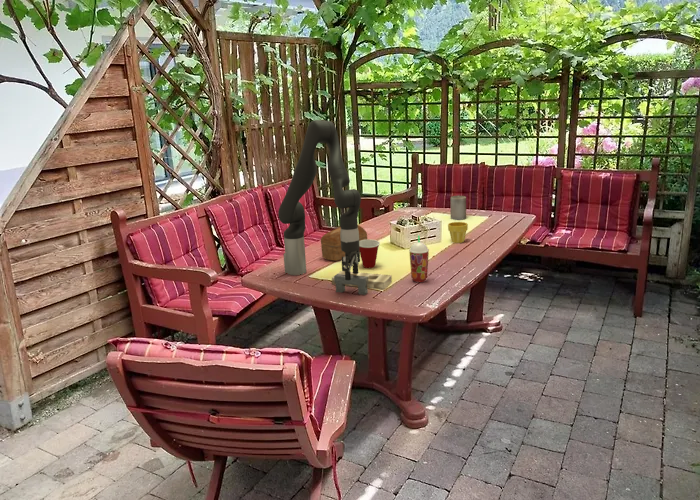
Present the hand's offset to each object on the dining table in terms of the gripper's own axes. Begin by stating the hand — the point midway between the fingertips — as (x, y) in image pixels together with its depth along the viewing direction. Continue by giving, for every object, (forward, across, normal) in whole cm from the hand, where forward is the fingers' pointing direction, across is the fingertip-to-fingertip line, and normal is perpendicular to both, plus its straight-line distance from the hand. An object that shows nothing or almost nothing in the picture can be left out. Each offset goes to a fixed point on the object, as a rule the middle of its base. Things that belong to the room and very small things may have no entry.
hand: (351, 276), depth 235 cm
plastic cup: (+7, -35, -5) cm, 36 cm away
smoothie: (+7, -22, +23) cm, 32 cm away
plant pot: (+7, -89, +26) cm, 93 cm away
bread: (+7, -51, -24) cm, 57 cm away
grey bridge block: (+7, 0, 0) cm, 7 cm away
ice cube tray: (+7, -12, 0) cm, 14 cm away
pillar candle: (+7, -144, +15) cm, 145 cm away
